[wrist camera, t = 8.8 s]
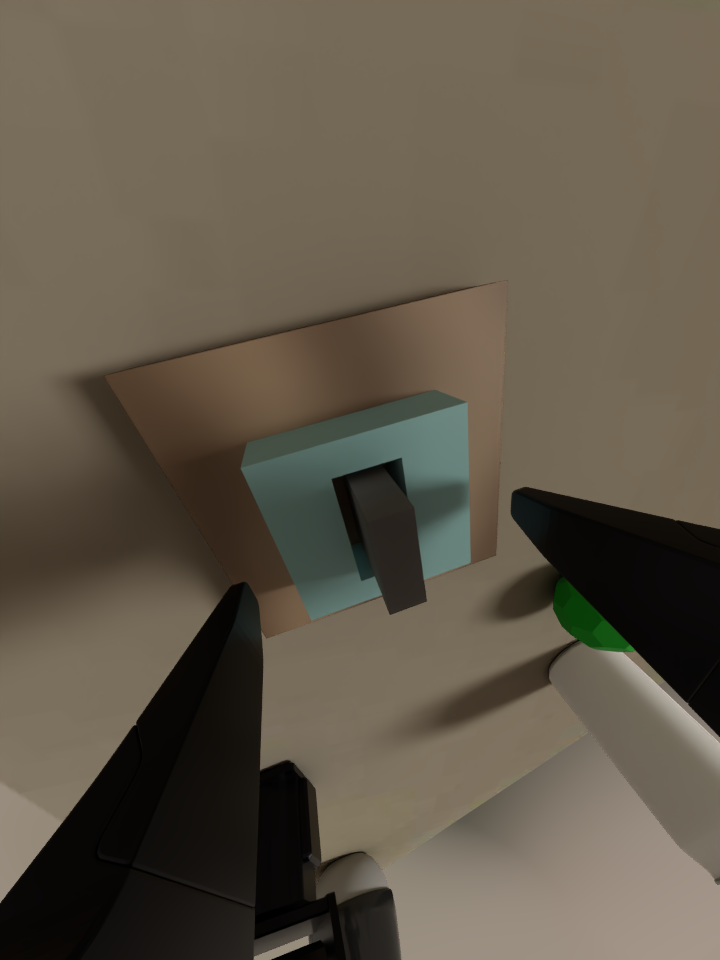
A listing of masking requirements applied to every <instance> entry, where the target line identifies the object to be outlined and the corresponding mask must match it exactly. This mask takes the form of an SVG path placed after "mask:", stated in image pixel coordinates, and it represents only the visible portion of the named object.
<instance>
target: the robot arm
mask: <svg viewBox="0 0 720 960" xmlns="http://www.w3.org/2000/svg"><path fill="white" fill-rule="evenodd" d="M511 515H512V517H513V519H514V520H515V522H516V523H517V524H518V525H519V527H520V528H521V529H522V530H523V532H524V533H525V534H526V535H527V537H528V538H529V539H530V540H531V541H532V543H533V544H534V545H535V546H536V548H537V549H538V550H539V551H540V553H541V554H542V555H543V556H544V557H545V558H546V559H547V560H548V561H549V563H550V564H551V565H552V566H553V567H554V568H555V569H556V570H557V571H558V572H559V573H560V574H561V575H562V576H563V577H564V578H565V579H566V580H567V581H568V582H569V583H570V584H571V585H572V586H573V587H574V588H575V589H576V590H577V591H578V592H579V593H580V594H581V595H582V596H583V597H584V598H585V599H586V600H587V601H588V602H589V603H590V604H591V606H592V607H593V608H594V609H595V610H596V611H597V612H598V613H599V614H600V615H601V616H602V617H603V618H604V619H605V620H606V621H607V622H608V623H609V624H610V625H611V626H612V627H613V628H614V629H615V630H616V631H617V632H618V633H619V634H620V635H621V636H622V637H623V638H624V639H625V640H626V641H627V642H628V643H629V644H630V645H631V646H632V647H633V648H634V650H635V651H636V652H637V653H638V654H639V655H640V656H641V657H642V658H643V659H644V660H645V661H646V662H647V663H648V664H649V665H650V666H651V667H652V668H653V669H654V670H655V671H656V672H657V673H658V674H659V675H660V676H661V677H662V678H663V679H664V680H665V681H666V682H667V683H668V684H669V685H670V686H671V687H672V688H673V689H674V690H675V691H676V692H677V693H678V695H679V696H680V697H681V698H682V699H683V700H684V701H685V702H687V703H688V705H689V706H690V707H691V708H692V709H693V710H694V711H695V712H696V713H697V714H698V715H699V716H700V717H701V718H702V719H703V720H704V721H705V722H706V723H707V725H708V726H710V728H711V729H712V730H713V731H714V732H715V733H716V734H717V735H718V736H719V737H720V529H716V528H712V527H707V526H702V525H697V524H693V523H688V522H684V521H679V520H677V521H675V520H674V519H670V518H665V517H661V516H656V515H652V514H647V513H643V512H638V511H633V510H629V509H624V508H620V507H615V506H611V505H606V504H602V503H597V502H592V501H588V500H583V499H579V498H574V497H570V496H565V495H561V494H556V493H552V492H547V491H542V490H538V489H533V488H529V487H523V488H520V489H517V490H515V491H513V493H512V497H511ZM262 690H263V648H262V635H261V622H260V610H259V603H258V600H257V598H256V596H255V595H254V593H253V591H252V590H251V588H250V586H249V584H248V583H247V582H240V583H237V584H234V585H232V586H231V587H230V588H229V589H228V590H227V592H226V593H225V595H224V596H223V598H222V599H221V600H220V602H219V603H218V605H217V606H216V608H215V609H214V611H213V612H212V613H211V615H210V616H209V618H208V619H207V621H206V622H205V623H204V625H203V626H202V628H201V629H200V631H199V632H198V634H197V635H196V636H195V638H194V639H193V641H192V642H191V644H190V645H189V646H188V648H187V649H186V651H185V652H184V654H183V655H182V657H181V658H180V659H179V661H178V662H177V664H176V665H175V667H174V668H173V669H172V671H171V672H170V674H169V675H168V677H167V678H166V680H165V681H164V682H163V684H162V685H161V687H160V688H159V690H158V691H157V692H156V694H155V695H154V697H153V698H152V700H151V701H150V703H149V704H148V705H147V707H146V708H145V710H144V711H143V713H142V714H141V716H140V717H139V718H138V720H137V722H136V725H134V726H133V727H132V728H131V730H130V731H129V733H128V734H127V735H126V737H125V738H124V740H123V741H122V743H121V744H120V745H119V747H118V748H117V750H116V751H115V753H114V754H113V755H112V757H111V758H110V759H109V761H108V762H107V764H106V765H105V766H104V768H103V769H102V771H101V772H100V773H99V775H98V776H97V778H96V779H95V780H94V782H93V783H92V784H91V786H90V787H89V788H88V790H87V791H86V792H85V794H84V795H83V796H82V798H81V799H80V800H79V802H78V803H77V804H76V806H75V807H74V808H73V809H72V811H71V812H70V813H69V815H68V816H67V817H66V819H65V820H64V821H63V823H62V824H61V825H60V827H59V828H58V829H57V830H56V832H55V833H54V834H53V836H52V837H51V838H50V840H49V841H48V842H47V843H46V845H45V846H44V847H43V848H42V850H41V851H40V852H39V854H38V855H37V856H36V858H35V859H34V860H33V862H32V863H31V864H30V865H29V867H28V868H27V869H26V870H25V872H24V873H23V874H22V876H21V877H20V878H19V880H18V881H17V882H16V883H15V885H14V886H13V887H12V889H11V890H10V891H9V892H8V894H7V895H6V897H5V898H4V899H3V900H2V901H1V903H0V960H253V959H254V956H257V955H259V954H262V953H264V952H267V951H269V950H272V949H274V948H277V947H280V946H282V945H285V944H287V943H290V942H292V941H295V940H298V939H300V938H303V937H305V936H308V935H310V934H313V943H311V944H309V945H307V946H304V947H301V948H299V949H296V950H294V951H291V952H289V953H286V954H284V955H282V956H279V957H276V958H274V959H272V960H346V955H345V949H344V943H343V937H342V932H341V926H340V920H339V914H338V908H337V902H336V896H335V892H334V891H333V892H331V893H328V894H326V895H325V897H323V898H320V899H318V900H317V899H316V885H315V871H314V869H316V868H318V867H319V866H320V864H321V848H320V837H319V825H318V813H317V801H316V790H315V787H314V786H313V785H312V784H311V783H310V781H309V780H308V779H307V778H306V777H305V776H304V774H303V773H302V772H301V771H300V770H299V769H298V767H297V766H296V765H295V764H294V763H287V764H284V765H282V766H280V767H277V768H275V769H272V770H270V771H268V772H265V773H263V774H260V749H261V719H262Z"/></svg>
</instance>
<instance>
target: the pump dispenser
mask: <svg viewBox="0 0 720 960" xmlns="http://www.w3.org/2000/svg"><path fill="white" fill-rule="evenodd" d="M333 891H334V892H335V896H336V902H337V908H338V914H339V920H340V926H341V932H342V937H343V943H344V949H345V955H346V960H401V951H400V941H399V932H398V924H397V916H396V909H395V903H394V899H393V893H392V890H391V889H389V888H388V885H387V881H386V878H385V876H384V874H383V871H382V869H381V868H380V866H379V865H378V863H377V862H376V861H375V860H374V859H373V858H372V857H371V856H369V855H367V854H364V853H354V854H351V855H348V856H345V857H343V858H340V859H338V860H336V861H335V862H333V863H332V864H330V865H329V866H328V867H327V868H326V869H325V871H324V872H323V873H322V875H321V877H320V879H319V881H318V883H317V885H316V899H317V900H318V899H320V898H323V897H325V895H326V894H328V893H331V892H333ZM308 936H309V944H311V943H313V934H310V935H308Z"/></svg>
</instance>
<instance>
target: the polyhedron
mask: <svg viewBox="0 0 720 960" xmlns="http://www.w3.org/2000/svg"><path fill="white" fill-rule="evenodd" d="M553 610H554V612H555V614H556V616H557V618H558V620H559V622H560V624H561V626H562V627H563V628H564V629H565V630H566V631H568V632H569V633H570V634H571V635H572V636H574V637H575V638H577V639H578V640H579V641H581V642H582V643H584V644H585V645H587V646H588V647H590V648H593V649H596V650H603V651H613V652H633V651H635V650H634V648H633V647H632V646H631V645H630V644H629V643H628V642H627V641H626V640H625V639H624V638H623V637H622V636H621V635H620V634H619V633H618V632H617V631H616V630H615V629H614V628H613V627H612V626H611V625H610V624H609V623H608V622H607V621H606V620H605V619H604V618H603V617H602V616H601V615H600V614H599V613H598V612H597V611H596V610H595V609H594V608H593V607H592V606H591V604H590V603H589V602H588V601H587V600H586V599H585V598H584V597H583V596H582V595H581V594H580V593H579V592H578V591H577V590H576V589H575V588H574V587H573V586H572V585H571V584H570V583H569V582H568V581H567V580H566V579H565V578H564V577H561V578H560V579H559V580H558V582H557V584H556V588H555V594H554V600H553Z"/></svg>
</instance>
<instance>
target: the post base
mask: <svg viewBox="0 0 720 960" xmlns="http://www.w3.org/2000/svg"><path fill="white" fill-rule="evenodd" d="M507 291H508V280H504V281H500V282H495V283H490V284H485V285H480V286H476V287H472V288H468V289H463V290H459V291H455V292H451V293H447V294H442V295H438V296H434V297H430V298H426V299H421V300H417V301H413V302H409V303H405V304H400V305H396V306H392V307H388V308H384V309H379V310H375V311H371V312H367V313H362V314H358V315H354V316H350V317H346V318H341V319H337V320H333V321H329V322H325V323H320V324H316V325H312V326H308V327H304V328H299V329H295V330H291V331H287V332H283V333H278V334H274V335H270V336H266V337H261V338H257V339H253V340H249V341H245V342H240V343H236V344H232V345H228V346H224V347H219V348H215V349H211V350H207V351H203V352H198V353H194V354H190V355H186V356H182V357H177V358H173V359H169V360H165V361H160V362H156V363H152V364H148V365H144V366H139V367H135V368H131V369H127V370H123V371H120V372H116V373H113V374H109V375H105V376H104V377H105V378H106V380H107V381H108V383H109V385H110V386H111V388H112V390H113V391H114V393H115V394H116V396H117V398H118V399H119V401H120V402H121V404H122V406H123V407H124V409H125V411H126V412H127V414H128V415H129V417H130V419H131V420H132V422H133V424H134V425H135V427H136V428H137V430H138V432H139V433H140V435H141V436H142V438H143V440H144V441H145V443H146V445H147V446H148V448H149V449H150V451H151V453H152V454H153V456H154V458H155V459H156V461H157V462H158V464H159V466H160V467H161V469H162V470H163V472H164V474H165V475H166V477H167V479H168V480H169V482H170V483H171V485H172V487H173V488H174V490H175V492H176V493H177V495H178V496H179V498H180V500H181V501H182V503H183V504H184V506H185V508H186V509H187V511H188V513H189V514H190V516H191V517H192V519H193V521H194V522H195V524H196V526H197V527H198V529H199V530H200V532H201V534H202V535H203V537H204V538H205V540H206V542H207V543H208V545H209V547H210V548H211V550H212V551H213V553H214V555H215V556H216V558H217V560H218V561H219V563H220V564H221V566H222V568H223V569H224V571H225V572H226V574H227V576H228V577H229V579H230V581H231V582H232V584H233V585H234V584H237V583H240V582H247V583H248V584H249V586H250V588H251V590H252V591H253V593H254V595H255V596H256V598H257V600H258V603H259V610H260V622H261V631H262V632H263V634H264V636H265V637H266V639H267V638H269V637H272V636H275V635H278V634H280V633H283V632H286V631H289V630H292V629H294V628H297V627H300V626H303V625H305V624H308V623H311V622H314V621H316V620H319V619H322V618H325V617H327V616H330V615H333V614H336V613H338V612H341V611H344V610H347V609H350V608H352V607H355V606H358V605H361V604H363V603H366V602H369V601H372V600H374V599H377V598H380V597H383V599H384V601H385V604H386V606H387V609H388V611H389V614H390V615H391V614H394V613H397V612H399V611H402V610H405V609H407V608H410V607H413V606H415V605H418V604H421V603H424V602H426V601H427V599H426V591H425V584H424V581H427V580H430V579H432V578H435V577H438V576H441V575H443V574H446V573H449V572H452V571H455V570H457V569H460V568H463V567H466V566H468V565H471V564H474V563H477V562H479V561H482V560H485V559H488V558H490V557H493V556H496V547H497V524H498V500H499V477H500V454H501V431H502V407H503V384H504V361H505V338H506V314H507ZM433 390H437V391H440V392H442V393H445V394H448V395H450V396H453V397H455V398H458V399H461V400H463V401H466V402H468V448H469V500H470V552H471V563H469V564H466V565H464V566H461V567H458V568H455V569H453V570H450V571H447V572H444V573H442V574H439V575H436V576H433V577H431V578H428V579H425V580H424V576H423V569H422V562H421V554H420V547H419V539H418V532H417V524H416V517H415V509H414V506H413V505H412V503H411V502H410V501H409V499H408V498H407V497H406V496H405V494H404V493H403V492H402V490H401V489H400V488H399V487H398V485H397V484H396V483H395V481H394V480H393V479H392V477H391V476H390V475H389V474H388V471H387V466H386V462H385V463H382V464H379V465H375V466H372V467H369V468H366V469H362V470H359V471H356V472H353V473H349V474H346V475H343V476H340V477H336V478H333V479H331V480H332V483H333V487H334V490H335V493H336V497H337V500H338V504H339V507H340V510H341V514H342V517H343V521H344V524H345V528H346V531H347V534H348V538H349V541H350V545H354V544H357V543H360V542H361V543H362V546H363V548H364V551H365V553H366V556H367V558H368V561H369V563H370V566H371V568H372V571H373V573H374V576H375V578H376V581H377V583H378V586H379V588H380V591H381V594H382V595H381V596H378V597H375V598H373V599H370V600H367V601H364V602H362V603H359V604H356V605H353V606H351V607H348V608H345V609H342V610H340V611H337V612H334V613H331V614H328V615H326V616H323V617H320V618H317V619H315V620H312V621H311V619H310V617H309V614H308V612H307V610H306V608H305V606H304V604H303V601H302V599H301V597H300V595H299V593H298V591H297V589H296V586H295V584H294V582H293V580H292V578H291V576H290V574H289V571H288V569H287V567H286V565H285V563H284V561H283V558H282V556H281V554H280V552H279V550H278V548H277V546H276V543H275V541H274V539H273V537H272V535H271V533H270V530H269V528H268V526H267V524H266V522H265V520H264V518H263V515H262V513H261V511H260V509H259V507H258V505H257V503H256V500H255V498H254V496H253V494H252V492H251V490H250V487H249V485H248V483H247V481H246V479H245V477H244V475H243V472H242V470H241V464H242V461H243V457H244V453H245V449H246V445H247V443H248V442H251V441H255V440H258V439H262V438H265V437H269V436H272V435H276V434H280V433H283V432H287V431H290V430H294V429H297V428H301V427H305V426H308V425H312V424H315V423H319V422H322V421H326V420H329V419H333V418H337V417H340V416H344V415H347V414H351V413H354V412H358V411H361V410H365V409H369V408H372V407H376V406H379V405H383V404H386V403H390V402H394V401H397V400H401V399H404V398H408V397H411V396H415V395H418V394H422V393H426V392H429V391H433Z"/></svg>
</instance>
